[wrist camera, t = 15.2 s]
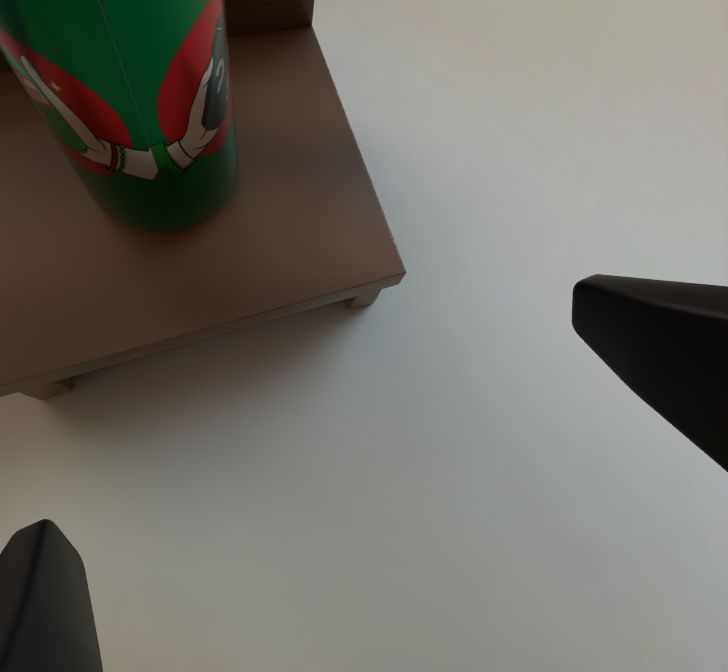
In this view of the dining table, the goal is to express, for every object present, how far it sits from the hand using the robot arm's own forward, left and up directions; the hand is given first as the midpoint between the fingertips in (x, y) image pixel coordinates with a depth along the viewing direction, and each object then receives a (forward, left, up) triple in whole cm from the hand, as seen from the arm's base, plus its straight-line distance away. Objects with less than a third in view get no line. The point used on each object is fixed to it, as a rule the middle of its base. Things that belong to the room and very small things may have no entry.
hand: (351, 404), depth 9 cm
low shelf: (+11, +2, -14) cm, 17 cm away
